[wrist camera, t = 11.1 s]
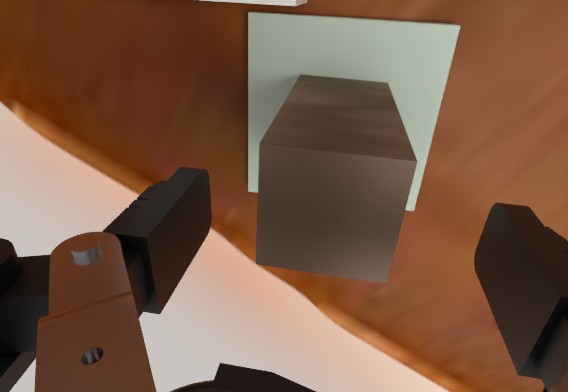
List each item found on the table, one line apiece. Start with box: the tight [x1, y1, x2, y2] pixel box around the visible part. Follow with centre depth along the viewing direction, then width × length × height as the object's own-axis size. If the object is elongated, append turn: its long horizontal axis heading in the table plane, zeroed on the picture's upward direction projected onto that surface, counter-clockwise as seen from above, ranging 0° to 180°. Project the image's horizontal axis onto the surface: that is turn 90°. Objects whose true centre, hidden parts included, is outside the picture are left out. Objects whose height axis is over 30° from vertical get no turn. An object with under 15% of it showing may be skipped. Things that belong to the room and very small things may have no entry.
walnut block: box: [256, 74, 417, 284], centre depth 14 cm, size 4×4×9 cm
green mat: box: [248, 11, 460, 211], centre depth 19 cm, size 9×9×1 cm
